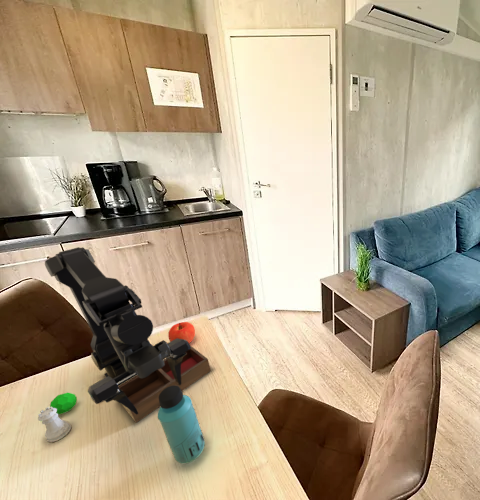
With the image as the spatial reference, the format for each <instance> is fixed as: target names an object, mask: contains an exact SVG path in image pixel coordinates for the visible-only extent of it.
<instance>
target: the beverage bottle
mask: <svg viewBox="0 0 480 500" xmlns="http://www.w3.org/2000/svg"><path fill="white" fill-rule="evenodd" d="M159 403H160V407H159V408H158V411H157V419H158V420H159V422H160V426H161V427H162V430H163V432H164V434H165V438H166V440H167V441H166V442H167V445H168V446H169V449H170V451H171V453H172V456H173V458H174V461H176V462H177V463H179V464H183V465H184V464H190V463H191V462H193V461H195V460H197V458H199V456H201V454H202V453H203V451H204V449H205V444H206V441H205V440H206V439H205V437H204V432H203V431H202V427H201V426H200V422H199V419H198V416H197V412H196V409H195V407H194V405H193V401H192V399H191V397H190V396H189V395H186V394H183V391H181V389H180V387H178V386H170V387H167V388H166V389H164V390H163V391H162V392H161V393H160V395H159Z"/></svg>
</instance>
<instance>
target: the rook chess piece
mask: <svg viewBox="0 0 480 500" xmlns="http://www.w3.org/2000/svg"><path fill="white" fill-rule="evenodd" d="M44 408H45V410H43V409H41V411H39V412H40V413H38V414H37V416H38V417H37V421H39V422H41V424H42V425H44V427H45V434H44V437H45V438H46V439H45V440H46V441H47V442H52V443H53V442H57V441H59V440H62V439H64V438H65V437H66V436H67V435H68V434H69V433H70V431H71V429H72V425H71V424H70V422H69V421H68V420H63V419H61V418H60V417H59V414H58V413H56V412H57V409H56V408H53V407H50V406H47V407H44Z"/></svg>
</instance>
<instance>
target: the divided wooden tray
mask: <svg viewBox="0 0 480 500" xmlns="http://www.w3.org/2000/svg"><path fill="white" fill-rule="evenodd" d="M189 345H190V347H191V348H190V349H189V350H188V351H186V355H185V356H184V357H183V359H182V361H181V385H178V383H177V382H176V380H175V378H174V376H173V373H172V371H171V368H170V366H169V364H168V361H167V359H166V358H165V359H163V360H164V363H165V365H164V366H163V367H162V368H161V369H157V370H156V371H154V372H152V373H151V374H150V375H149V376H147V377H145V378H139V377H138V375H136V376H134V377H133V378H131V379H129V380H127V381H126V382H124V383H122V384H121V385H119V386H118V387H119V389H121V390H122V391H123V392H124V393H125V395H126V396H127V398H128V399H129V400H130V401H131V403H132V404H133V405H134V406H135V408H136V409H137V411H138V413H139V414H137V415H136V414H135V413H133V412H132V411H131V410H130V409H128V408H127V407H126V406H124V405H123V404H121V406H122V407H123V408H124V410H125V411H126V412H127V414H128V415H129V416H130V418H131V419H132V420H133V421H134V422H135V423H136V424H137V423H139V422H140V421H141V420H143V419H144V418H146V417H148V415H150V414H151V413H153V412H155V410H157V409H159V408H160V407H161V406H160V403H159V395H160V393H161V392H162V391H163V390H164V389H166V388H167V387H170V386H178V387H180V389H181V391H182V392H183V391H184V390H186V389H187V388H188V387H190V386H191V385H193V384H194V383H196V382H197V381H198V380H200V379H201V378H203V377H205V376H206V375H207V374H208V373H210V372H212V369H211V365H210V362H209V359H208V357H206V356H205V355H203V354H202V353H201V352H200V351H198V350H197V349H196V348H194V347H193V346H192V345H191V344H189Z"/></svg>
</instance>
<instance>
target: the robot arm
mask: <svg viewBox="0 0 480 500" xmlns="http://www.w3.org/2000/svg"><path fill="white" fill-rule="evenodd" d="M95 263H96V261H95V259H94V257H93V255H92V253H91V251H90V249H89V248H85V247H84V246H83V247H75V248H71V249H70V248H69V249H66V250H61V251H59V252H58V253H56V254H55V255H54V256H52V257H48V259H46V260H44V266H45V269H46V270H47V272H48V274H49V276H50V277H54V278H55V281H57V282H58V283H61V284H62V285H64V286H66V287H67V288H69V289H70V291H71V293H72V295H73V297H74V299H75V301H76V303H77V305H78V307H79V310H80V311H81V313H82V315H83V317H84V319H85V321H86V323H87V325H88V327H89V328H90V331H91V333H92V338H91V342H90V348H91V350H92V352H90V353H91V354H90V358H91V360H92V362H93V364H94V365H95V366H96V367H97V369H98V370H99V371H102V370H103V369H104V370H105V373H104V378H102V379H101V380H99V381H97V382H94V383H93V384H91V385H90V386H89V387H88V389H87V393H88V395H89V396H90V399H91V400H92V401H93V402H94V403H95V404H96V405H98V404H101V403H103V402H105V403H110V402H112V401H115V402H117V403H119V404H121V405H122V404H123V405H124V406H126V407H127V408H128V409H130V410H131V411H132V412H133V413H135V414H136V415H137V414H139V413H138V411H137V409H136V408H135V406H134V405H133V404H132V403H131V401H130V400H129V399H128V398H127V396H126V395H125V393H124V392H123V391H122V390H121V389H119V387H118V386H120V385H121V384H123V383H125V382H127V381H128V380H130V379H132V378H133V377H135V376H137V375H138V377H139V378H145V377H147V376H149V375H150V374H151V373H152V372H154V371H156V370H157V369H161V368H162V367H163V366H164V365H165V363H164V359H167V361H168V364H169V366H170V368H171V371H172V373H173V376H174V378H175V380H176V382H177V383H178V385H181V361H182V359H183V357H184V356H185V355H186V351H188V350H189V349H190V348H191V347H190V345H191V344H190V343H188V341H187V340H184V339H178V338H176V339H175V340H173V341H171V342H170V341H169V342H167V341H166V340H164V339H163V340H161V341H159V342H157V343H155V344H154V345H153V344H152V343H150V340H149V338H150V337H151V335H152V334H153V330H154V324H153V321H152V320H151V318H149V317H147V316H146V315H142V314H137V310H139V309H141V308H143V305H142V299H141V298H140V297H139V296H138V295H137V293H135V291H134V290H133V289H132V288H130V287H129V286H128V285H124V284H123V283H122V282H121V281H120V280H118V279H117V278H114V277H107V276H106V275H105V274H104V273H103V272H102V271H101V270H100V269H99V267H98V266H97V265H96V264H95Z"/></svg>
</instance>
